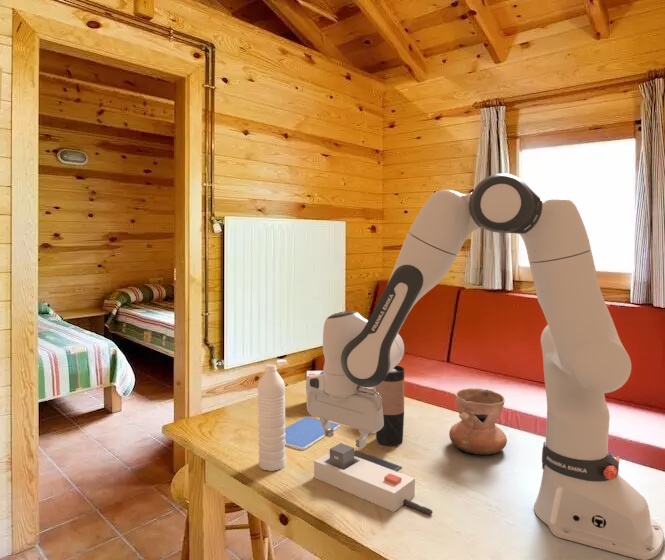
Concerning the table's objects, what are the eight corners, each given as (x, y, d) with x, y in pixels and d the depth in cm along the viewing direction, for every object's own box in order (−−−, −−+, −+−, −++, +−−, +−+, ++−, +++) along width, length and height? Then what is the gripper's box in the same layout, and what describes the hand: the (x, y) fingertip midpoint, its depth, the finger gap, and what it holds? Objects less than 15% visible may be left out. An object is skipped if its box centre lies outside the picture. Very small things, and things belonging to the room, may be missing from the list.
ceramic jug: (486, 467, 122) (490, 410, 121) (435, 448, 132) (437, 395, 131) (519, 446, 135) (523, 394, 133) (470, 430, 145) (473, 381, 143)
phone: (401, 470, 122) (401, 466, 122) (384, 481, 117) (384, 477, 116) (356, 453, 131) (356, 449, 131) (338, 463, 126) (338, 458, 126)
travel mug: (402, 448, 133) (403, 373, 131) (373, 445, 134) (374, 371, 132) (404, 436, 140) (405, 365, 138) (376, 433, 142) (377, 364, 140)
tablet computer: (305, 419, 154) (305, 415, 154) (341, 428, 148) (341, 423, 147) (265, 442, 138) (265, 437, 138) (303, 453, 131) (303, 448, 131)
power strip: (441, 506, 105) (442, 484, 105) (421, 524, 99) (422, 500, 99) (336, 464, 123) (336, 446, 123) (314, 477, 117) (314, 457, 117)
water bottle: (275, 474, 119) (274, 370, 116) (253, 467, 122) (251, 366, 120) (296, 459, 127) (295, 361, 124) (274, 453, 130) (273, 357, 127)
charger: (354, 472, 117) (354, 447, 117) (342, 479, 114) (343, 453, 114) (340, 467, 120) (340, 443, 119) (329, 473, 117) (329, 448, 116)
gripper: (389, 387, 110) (390, 448, 112) (319, 371, 124) (321, 426, 125) (372, 395, 106) (373, 458, 107) (301, 377, 119) (303, 434, 120)
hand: (344, 441), depth 116 cm, fingers open, 8 cm apart
